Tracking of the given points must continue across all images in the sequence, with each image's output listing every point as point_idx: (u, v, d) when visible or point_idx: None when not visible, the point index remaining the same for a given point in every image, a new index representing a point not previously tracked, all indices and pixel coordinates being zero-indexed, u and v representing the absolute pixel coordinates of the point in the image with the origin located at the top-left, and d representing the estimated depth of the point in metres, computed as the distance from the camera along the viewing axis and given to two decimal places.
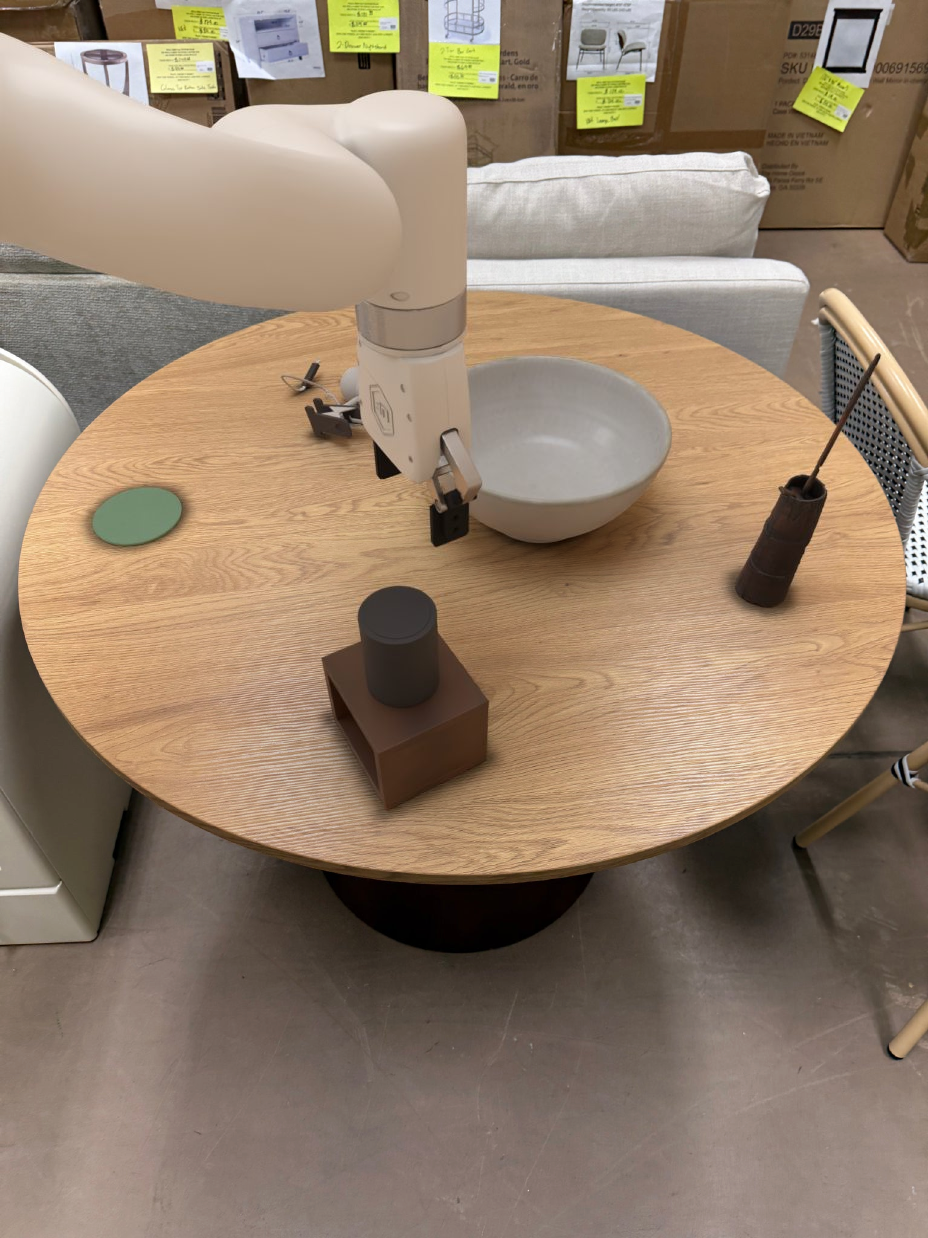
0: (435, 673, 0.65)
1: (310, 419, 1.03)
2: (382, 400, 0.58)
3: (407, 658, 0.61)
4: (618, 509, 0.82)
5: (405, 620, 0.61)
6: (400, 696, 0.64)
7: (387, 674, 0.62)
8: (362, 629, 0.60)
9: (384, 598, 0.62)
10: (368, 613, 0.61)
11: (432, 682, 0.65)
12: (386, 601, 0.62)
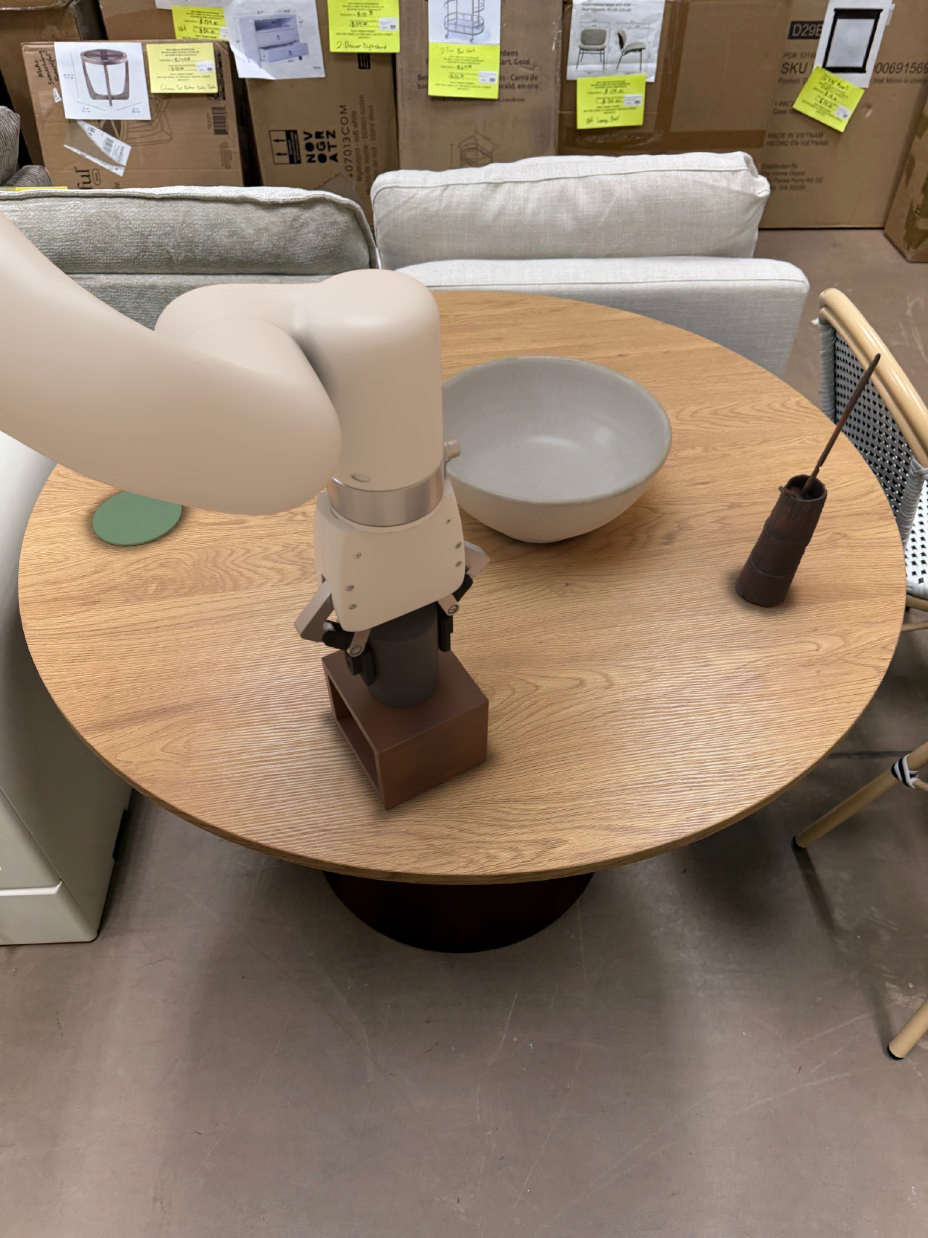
0: (435, 673, 0.65)
1: None
2: None
3: (407, 658, 0.61)
4: (618, 509, 0.82)
5: (405, 620, 0.61)
6: (400, 696, 0.64)
7: (387, 674, 0.62)
8: None
9: None
10: None
11: (432, 682, 0.65)
12: None
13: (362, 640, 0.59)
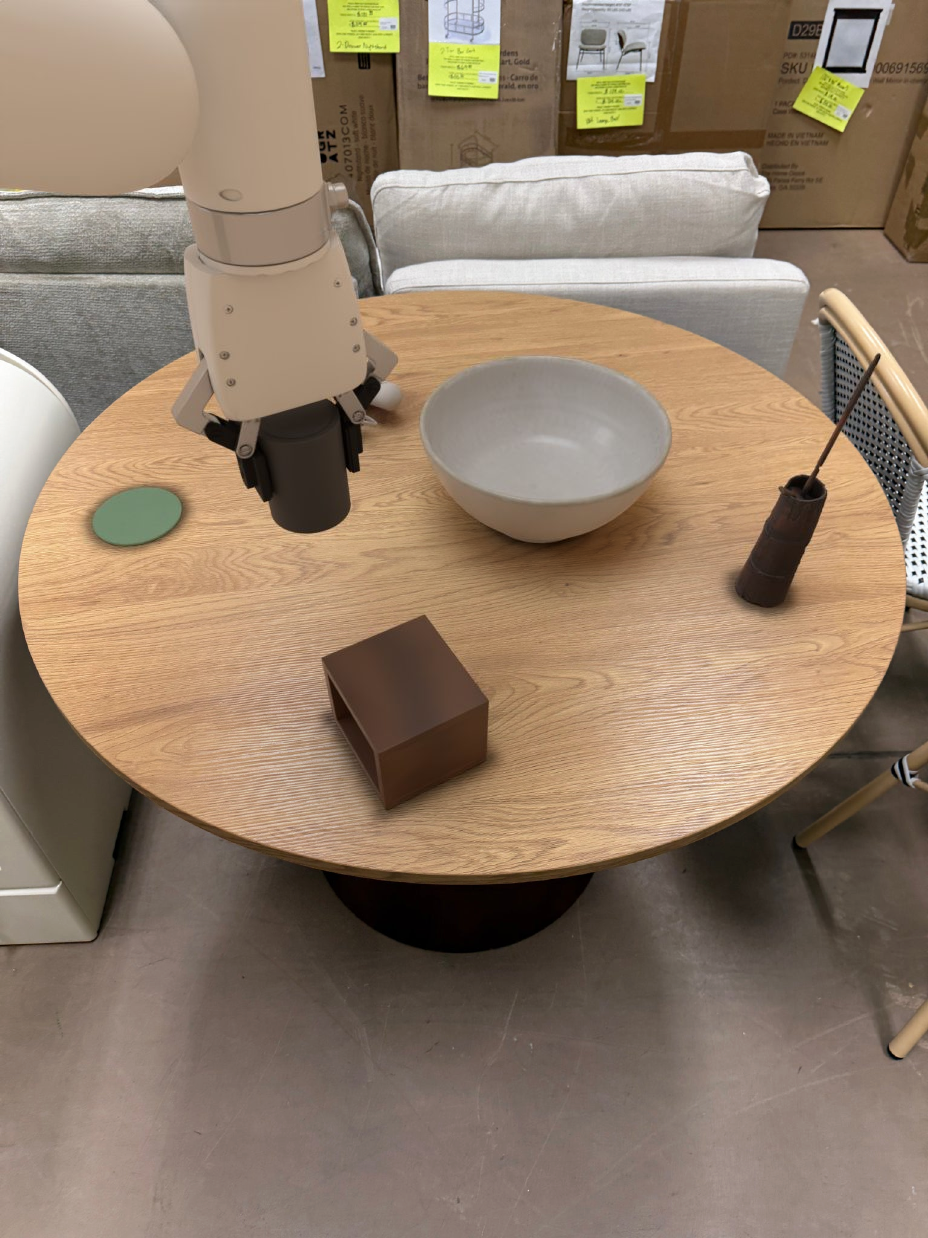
0: (342, 495, 0.59)
1: None
2: None
3: (305, 464, 0.55)
4: (618, 509, 0.82)
5: (303, 422, 0.55)
6: (302, 516, 0.58)
7: (285, 486, 0.56)
8: None
9: None
10: None
11: (339, 505, 0.59)
12: None
13: (251, 437, 0.53)
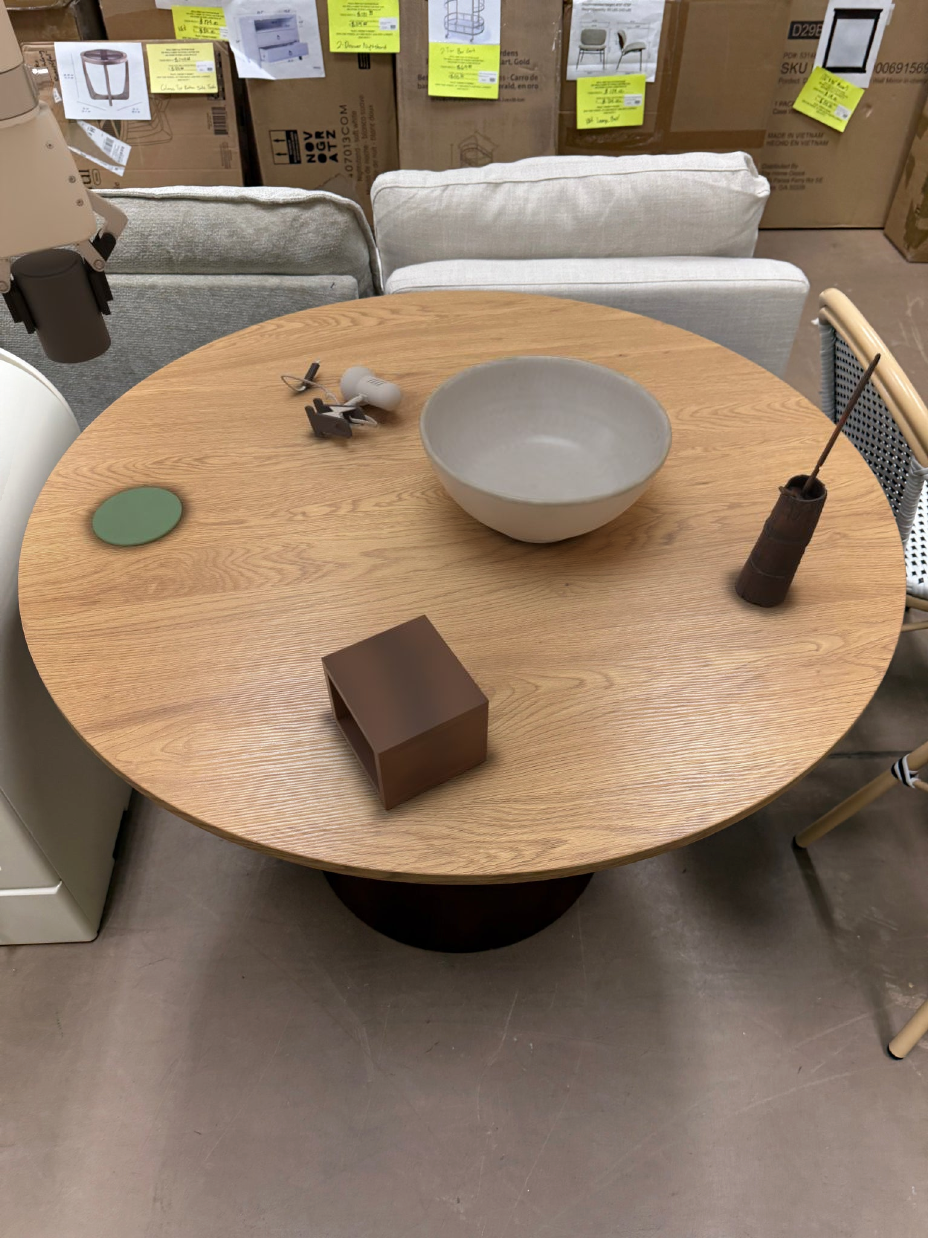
0: (96, 331, 0.75)
1: (310, 419, 1.03)
2: None
3: (52, 299, 0.71)
4: (618, 509, 0.82)
5: (51, 266, 0.71)
6: (62, 347, 0.74)
7: (42, 319, 0.72)
8: (11, 271, 0.70)
9: (40, 254, 0.72)
10: (22, 262, 0.71)
11: (94, 340, 0.75)
12: (41, 256, 0.72)
13: (5, 275, 0.69)
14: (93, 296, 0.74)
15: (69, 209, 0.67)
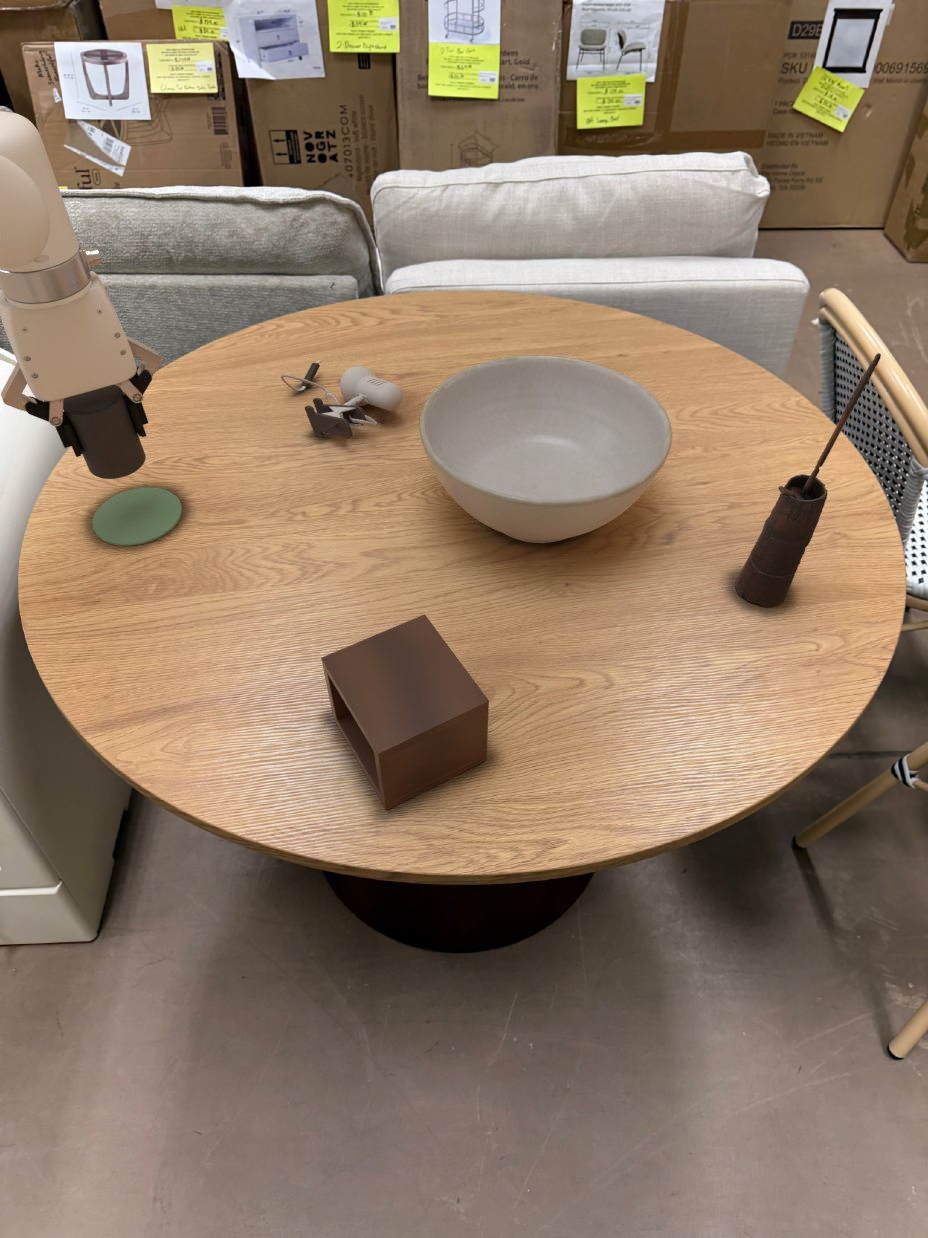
0: (133, 451, 0.86)
1: (310, 419, 1.03)
2: None
3: (98, 429, 0.82)
4: (618, 509, 0.82)
5: (96, 402, 0.82)
6: (104, 466, 0.85)
7: (88, 445, 0.84)
8: None
9: None
10: (71, 397, 0.83)
11: (132, 459, 0.86)
12: None
13: (58, 412, 0.81)
14: (131, 422, 0.85)
15: (114, 358, 0.79)
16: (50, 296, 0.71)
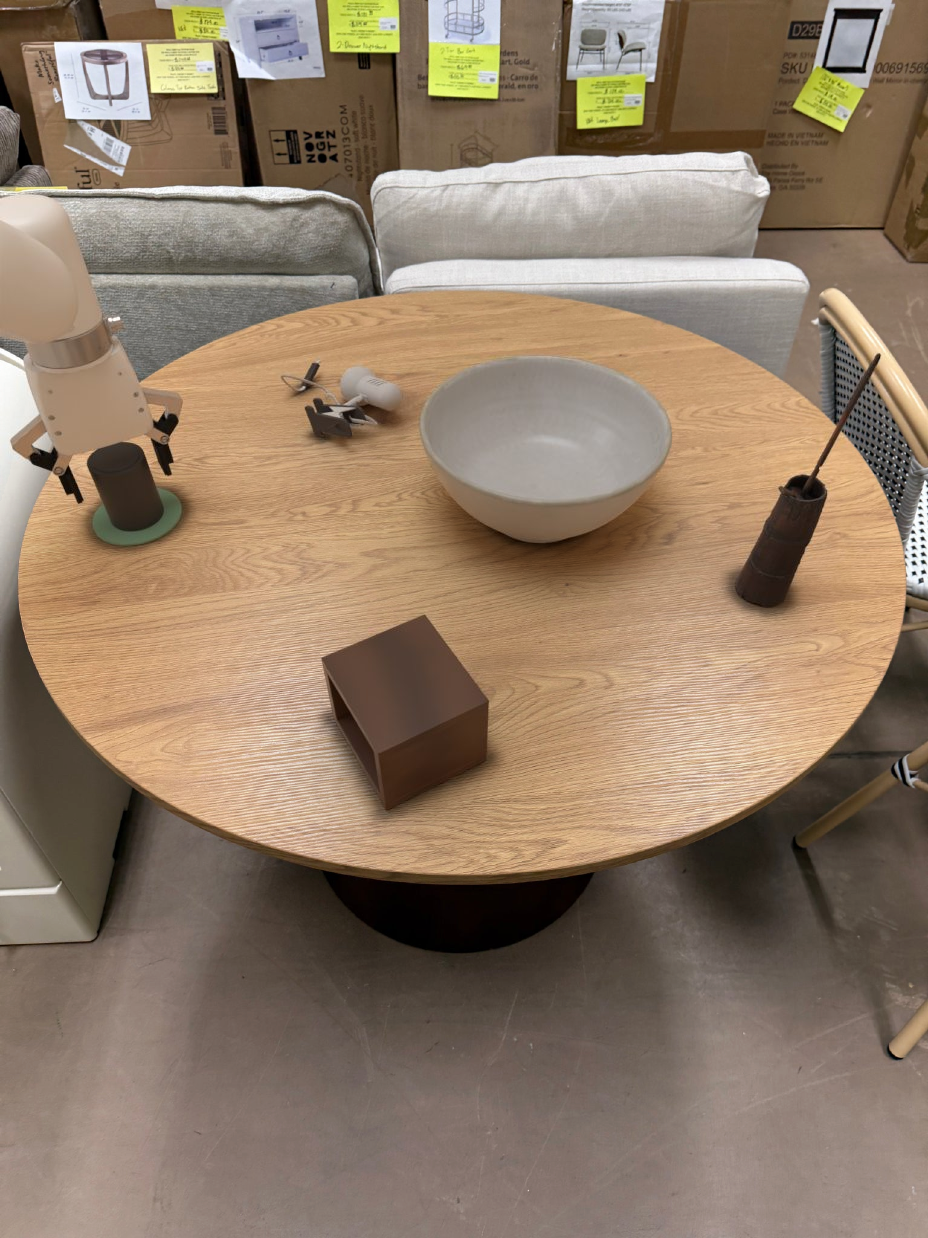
0: (153, 506, 0.92)
1: (310, 419, 1.03)
2: None
3: (121, 488, 0.88)
4: (618, 509, 0.82)
5: (119, 461, 0.88)
6: (126, 520, 0.91)
7: (111, 501, 0.89)
8: (88, 467, 0.87)
9: (109, 448, 0.89)
10: (95, 457, 0.88)
11: (151, 513, 0.92)
12: (110, 450, 0.89)
13: (61, 462, 0.84)
14: (151, 479, 0.91)
15: (132, 415, 0.84)
16: (75, 362, 0.76)
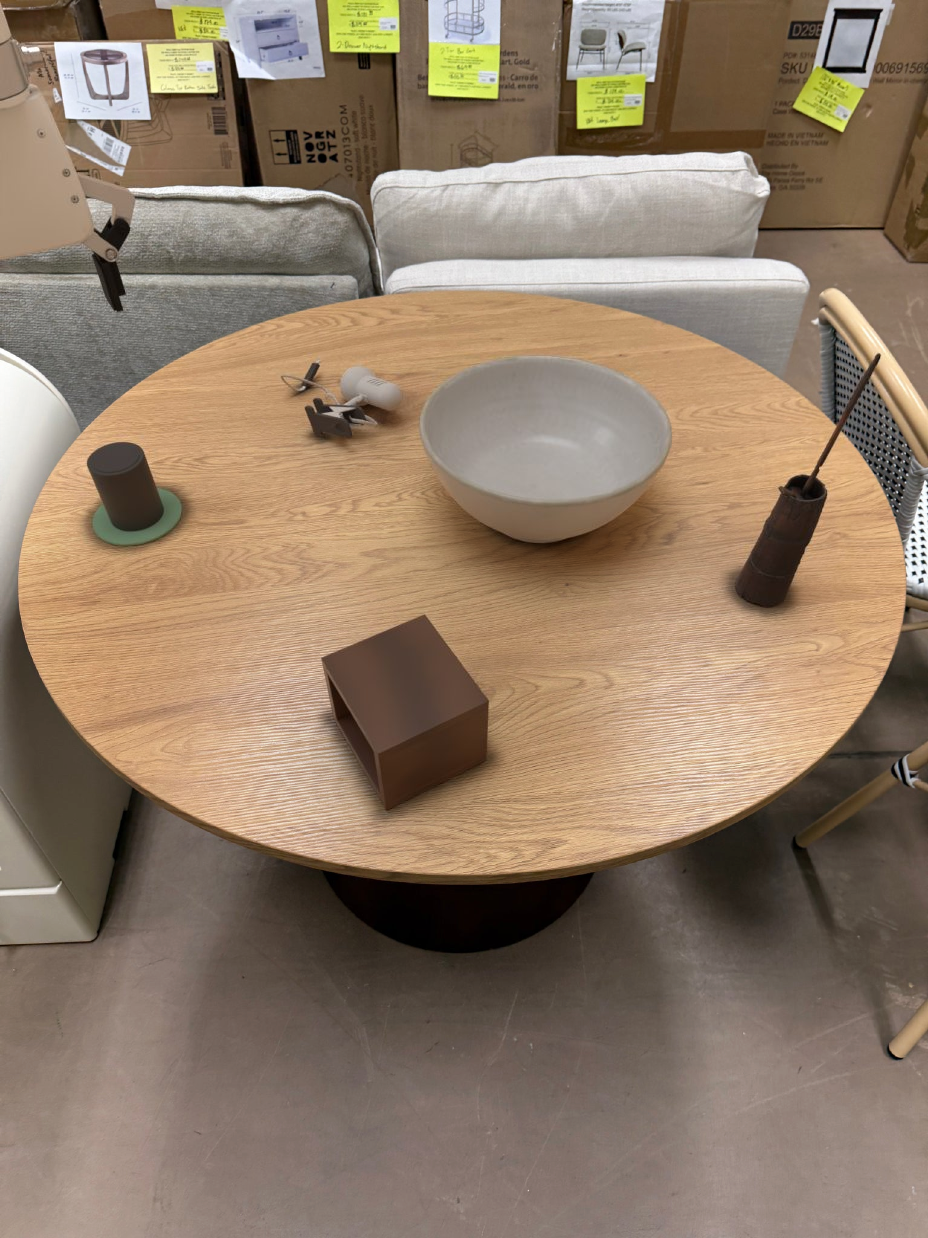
0: (153, 506, 0.92)
1: (310, 419, 1.03)
2: None
3: (121, 488, 0.88)
4: (618, 509, 0.82)
5: (119, 461, 0.88)
6: (126, 520, 0.91)
7: (111, 501, 0.89)
8: (88, 467, 0.87)
9: (109, 448, 0.89)
10: (95, 457, 0.88)
11: (151, 513, 0.92)
12: (110, 450, 0.89)
13: None
14: (151, 479, 0.91)
15: (63, 207, 0.60)
16: None
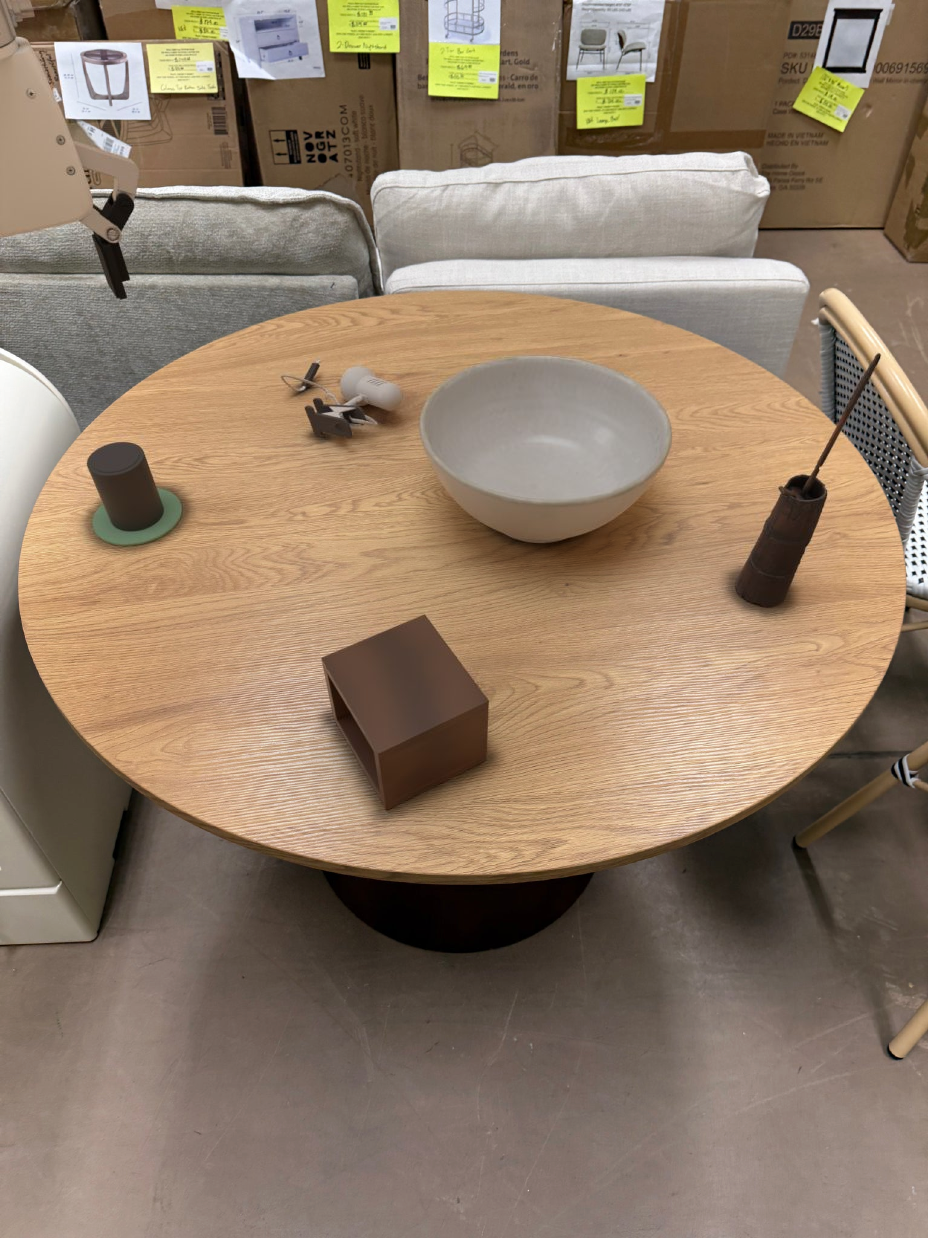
0: (153, 506, 0.92)
1: (310, 419, 1.03)
2: None
3: (121, 488, 0.88)
4: (618, 509, 0.82)
5: (119, 461, 0.88)
6: (126, 520, 0.91)
7: (111, 501, 0.89)
8: (88, 467, 0.87)
9: (109, 448, 0.89)
10: (95, 457, 0.88)
11: (151, 513, 0.92)
12: (110, 450, 0.89)
13: None
14: (151, 479, 0.91)
15: (57, 179, 0.53)
16: None
